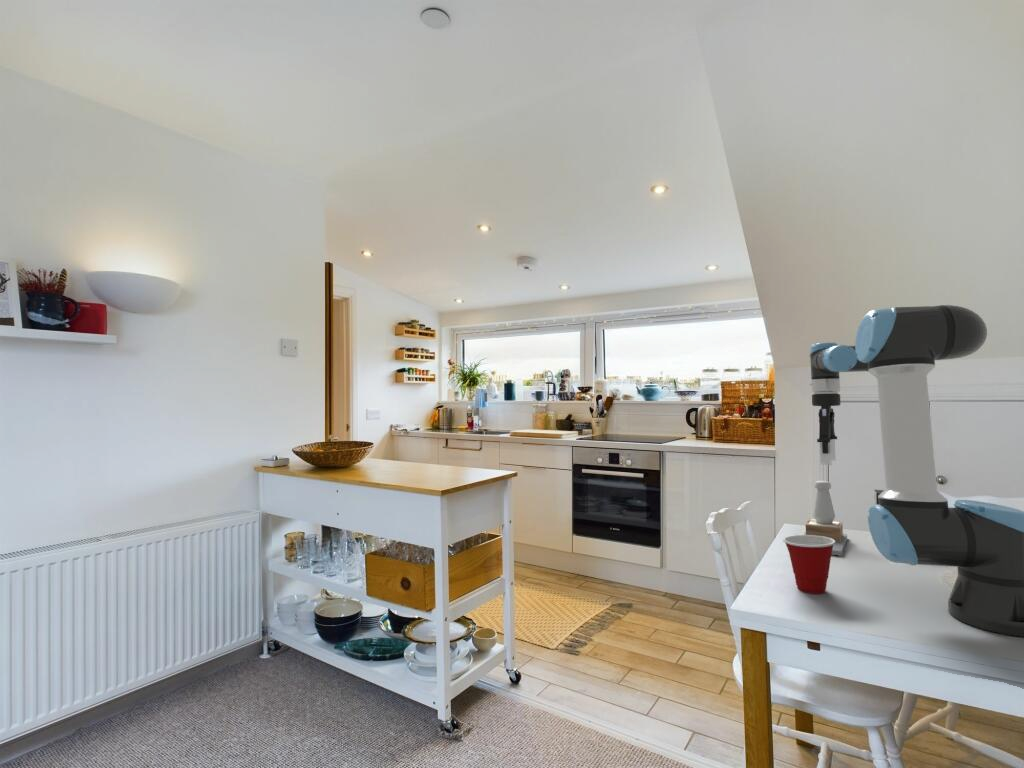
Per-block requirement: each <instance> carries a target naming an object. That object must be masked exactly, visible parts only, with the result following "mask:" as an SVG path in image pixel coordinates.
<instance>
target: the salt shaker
mask: <svg viewBox="0 0 1024 768" xmlns="http://www.w3.org/2000/svg"><path fill="white" fill-rule="evenodd" d="M814 487H815V489H817V491H816V496H815V501H814V507H813V513H812V515H813V517H814V518H813V519H816V522H817V523H820V524H828V525H829V524H832V523H833V521H835V518H836V514H835V510H834V505H833V502H832V498H831V494H830V489H831V488H832V483H831V482H830V481H828V480H816V481H815V482H814Z"/></svg>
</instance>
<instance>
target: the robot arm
mask: <svg viewBox="0 0 1024 768" xmlns="http://www.w3.org/2000/svg"><path fill="white" fill-rule="evenodd" d="M855 335H856V336H855V341H854V342H855V343H854V345H846V344H838V343H836V342H817V343H813V344H811V346H810V349H809V350H810V353H809V358H810V361H809V362H810V379H811V382H809V384H808V385H809V386H810V387H811V392H812V393H813V394H812V395H811V405H812V406H813V407H820V409H819V410H818V414H817V415H818V423H819V436H818V438H817V439H816V443H819V451H820V452H819V454H820V456H819V457H820V465H826V466H827V465H828V466H832V465H833V463H832V461H836V440H838V436H837V435H836V433H835V411H834V409H833V407H839V406H841V394H840V393H839V392H840V391H841V378H840V373H852V372H853V373H854V372H856V373H857V372H859V373H860V372H868V373H870V374H871V375H872V376H874V378H876V381H877V394H878V395H877V396H878V404H879V405H878V406H879V407H878V408H879V420H880V430H881V444H882V455H883V458H882V459H883V467H884V468H883V469H884V480H885V488H884V491H883V492H882V493H881V494H880V495H878V503H879V505H877V504H876V505H875V504H874V505H871V506H870V507H869V509H868V514H867V523H868V529H869V532H870V535H871V539H872V541H873V543H874V545H875V546H876V549H877V550H878V552H879V553H880V554H881V555H882V557H883V558H885V559H886V560H887V561H890V562H892V563H895V564H896V563H897V564H906V565H910V566H917V565H920V566H922V565H923V566H938V567H939V566H940V567H942V566H943V567H955V568H957V577H956V580H955V582H954V584H953V587H952V590H951V592H950V595H949V597H948V600H947V610H948V613H949V615H951V616H952V617H953V618H954V619H956V620H958V621H961V622H962V623H965V624H967V625H969V626H973V627H976V628H978V629H981V630H984V631H985V630H986V631H988V632H989V631H990V632H993V633H998V634H1003V635H1008V636H1014V637H1015V636H1016V637H1020V638H1021V637H1023V638H1024V511H1023V510H1020V509H1018V508H1014V507H1012V506H1011V507H1010V506H1006V505H1001V504H996V503H991V502H984V501H979V500H971V499H957V500H955V502H954V504H953V506H954V507H949V501H948V498H946V497H945V496H944V495H943V494H941V493H940V492H939V490H938V485H937V474H936V463H935V455H934V454H935V453H934V452H935V451H934V441H933V431H932V429H933V428H932V420H931V419H932V418H931V409H930V397H929V387H928V377H927V376H928V375H929V374H930V373H931V371H932V370H934V369H935V368H936V361H941V360H944V361H945V360H946V361H947V360H955V359H961V358H964V357H967V356H970V355H972V354H974V353H976V352H978V350H979V349H980V348H982V346H983V345H984V344H985V342H986V340H987V336H988V329H987V325H986V322H985V321H984V319H983V318H982V317H981V316H980V315H979V314H978V313H976V312H975V311H973V310H971V309H969V308H966V307H963V306H959V305H951V304H945V305H944V304H943V305H942V304H941V305H927V306H926V305H925V306H924V305H922V306H897V307H895V306H892V307H891V306H890V307H888V308H878V309H877V308H876V309H873V310H870V311H868V312H867V313H866V314H865V315H864V316H863V318H862V319H861V321H860V323H859V326H858V328H857V331H856V334H855Z"/></svg>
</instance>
